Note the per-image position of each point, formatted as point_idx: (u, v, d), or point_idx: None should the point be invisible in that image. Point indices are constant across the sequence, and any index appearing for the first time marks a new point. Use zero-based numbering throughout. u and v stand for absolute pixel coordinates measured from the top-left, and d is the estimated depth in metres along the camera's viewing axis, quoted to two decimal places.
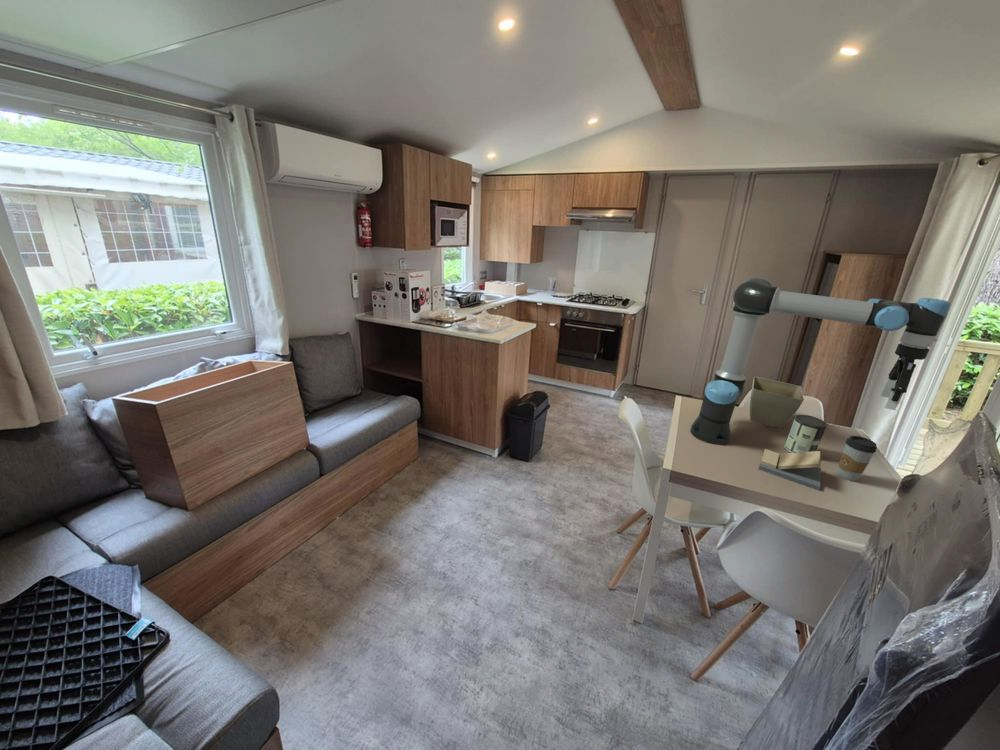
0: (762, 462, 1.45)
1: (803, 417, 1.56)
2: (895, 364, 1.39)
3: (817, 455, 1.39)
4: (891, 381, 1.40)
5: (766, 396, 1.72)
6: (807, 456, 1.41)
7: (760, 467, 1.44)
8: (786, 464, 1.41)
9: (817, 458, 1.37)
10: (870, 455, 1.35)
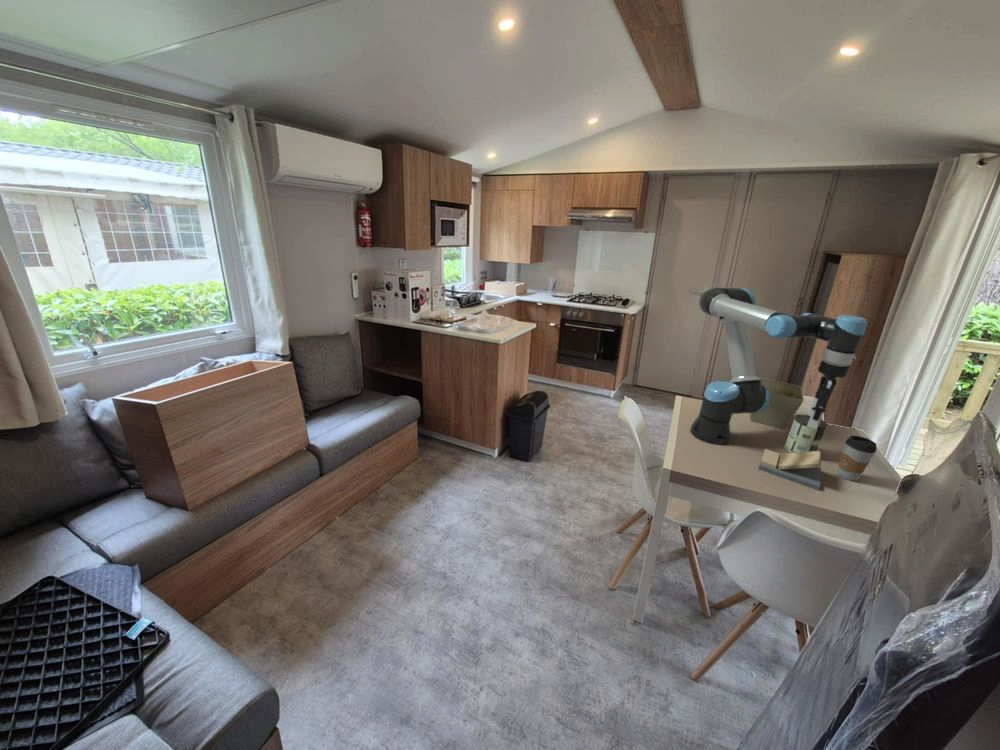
0: (762, 462, 1.45)
1: (803, 417, 1.56)
2: None
3: (817, 455, 1.39)
4: (817, 400, 1.38)
5: None
6: (807, 456, 1.41)
7: (760, 467, 1.44)
8: (786, 464, 1.41)
9: (817, 458, 1.37)
10: (870, 455, 1.35)
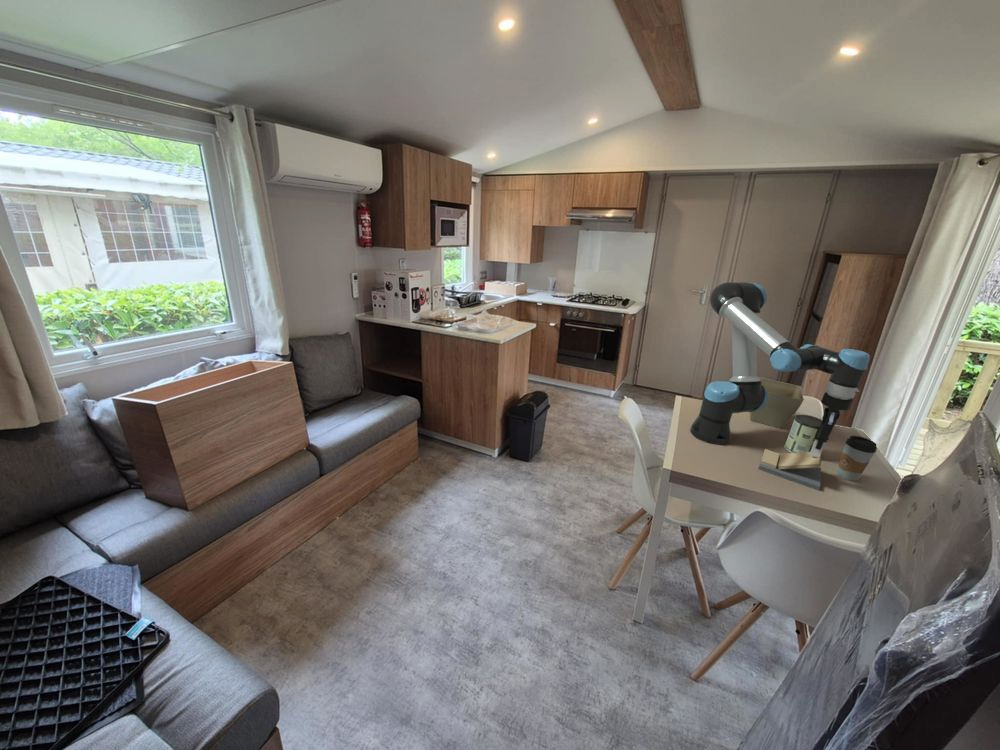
0: (762, 462, 1.45)
1: (803, 417, 1.56)
2: None
3: None
4: None
5: None
6: (807, 456, 1.41)
7: (760, 467, 1.44)
8: (786, 464, 1.41)
9: (817, 458, 1.37)
10: (870, 455, 1.35)
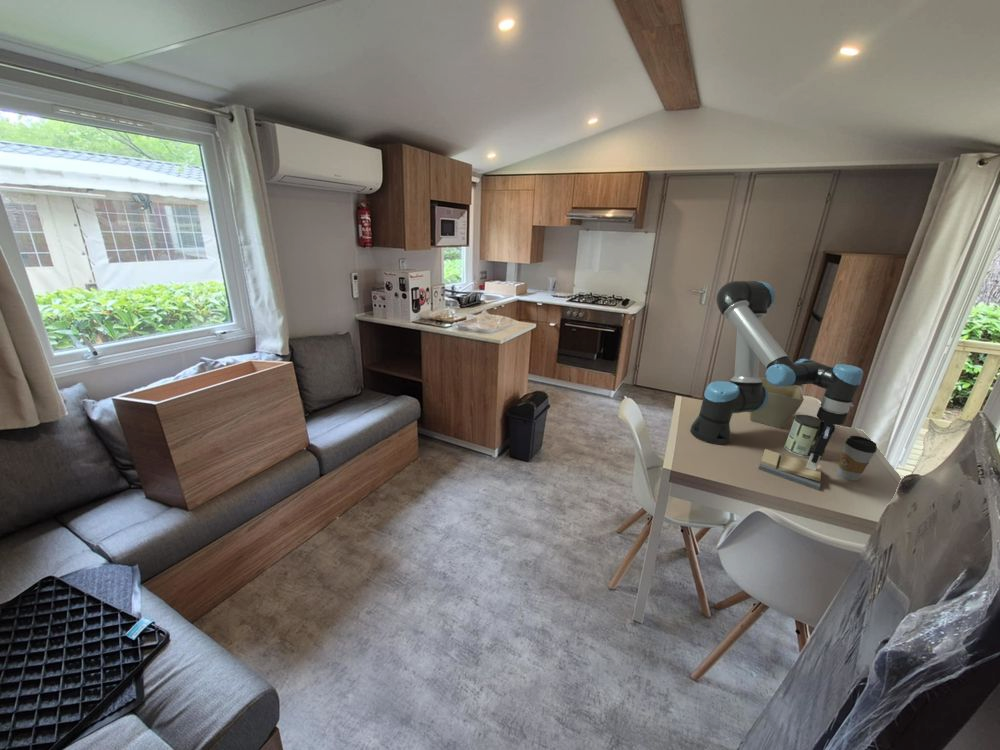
0: (762, 462, 1.45)
1: (803, 417, 1.56)
2: None
3: (818, 469, 1.40)
4: None
5: None
6: None
7: (760, 467, 1.44)
8: (787, 467, 1.41)
9: (818, 472, 1.38)
10: (870, 455, 1.35)
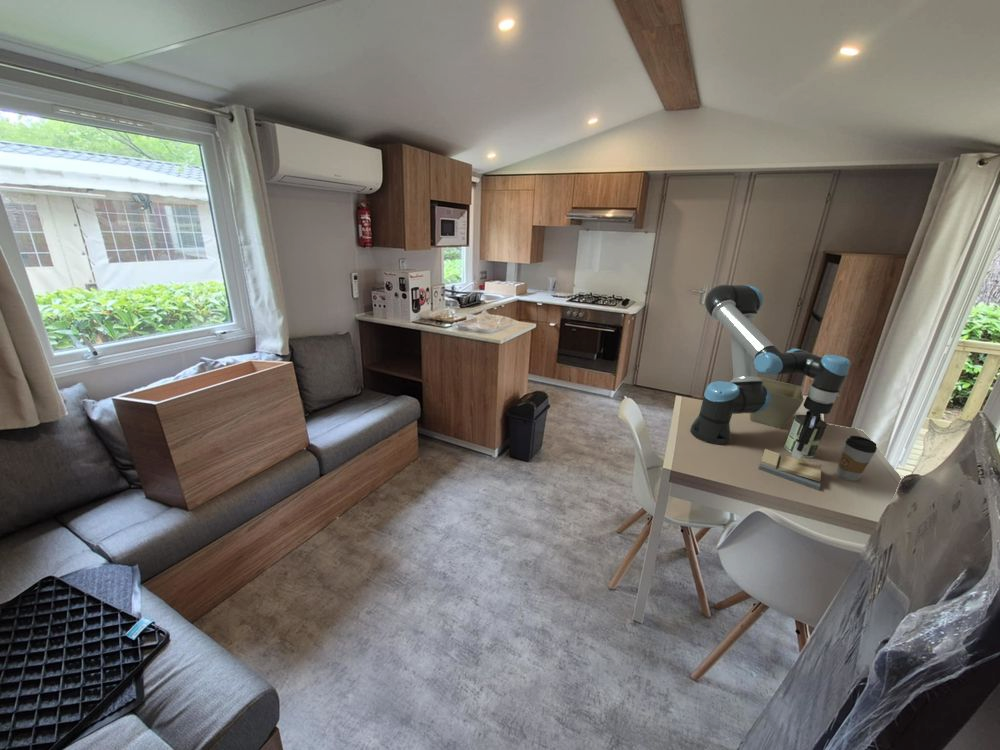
0: (762, 462, 1.45)
1: (803, 417, 1.56)
2: None
3: (818, 469, 1.40)
4: None
5: None
6: (808, 466, 1.42)
7: (760, 467, 1.44)
8: (787, 467, 1.41)
9: (818, 472, 1.38)
10: (870, 455, 1.35)
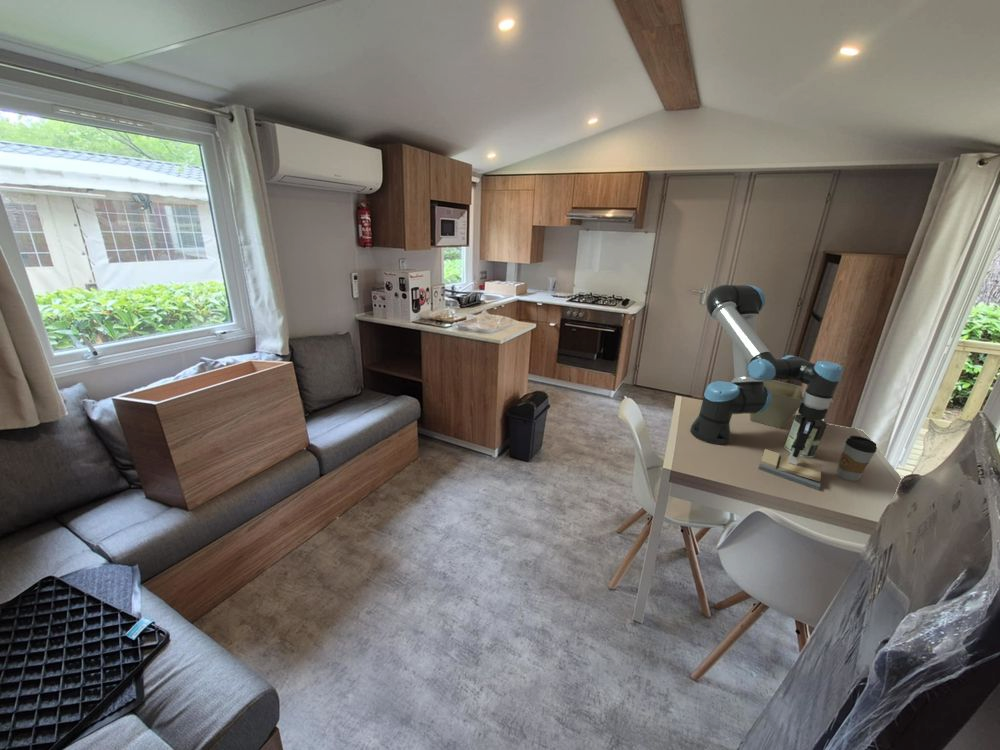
0: (762, 462, 1.45)
1: None
2: None
3: (818, 469, 1.40)
4: None
5: None
6: (808, 466, 1.42)
7: (760, 467, 1.44)
8: (787, 467, 1.41)
9: (818, 472, 1.38)
10: (870, 455, 1.35)
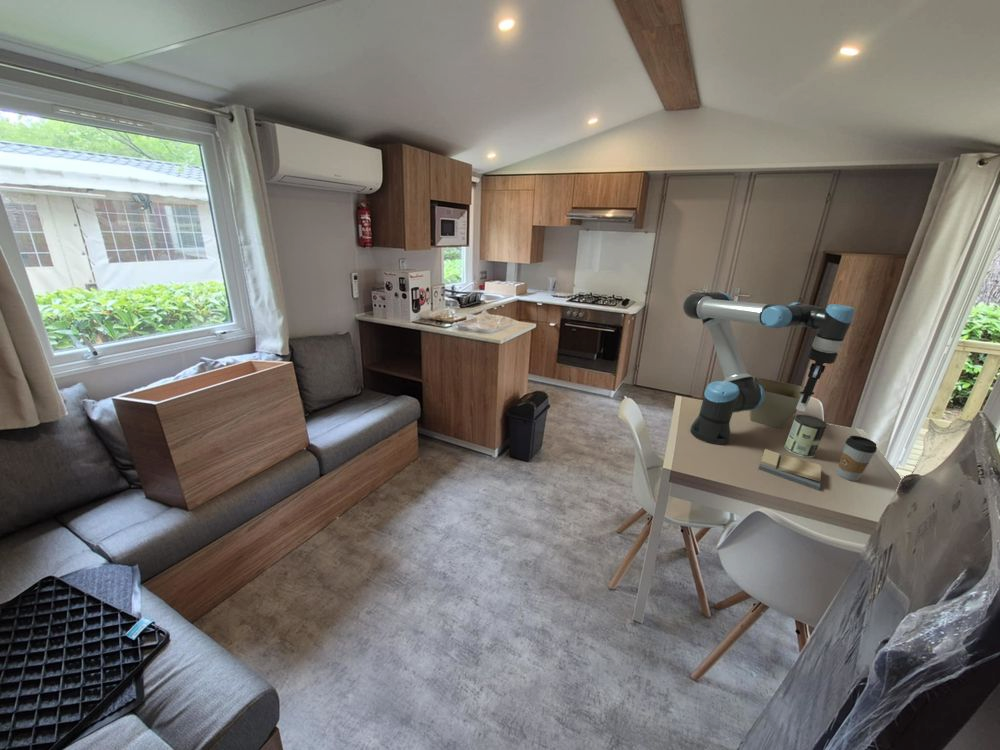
0: (762, 462, 1.45)
1: (803, 417, 1.56)
2: None
3: (818, 469, 1.40)
4: None
5: (766, 396, 1.72)
6: (808, 466, 1.42)
7: (760, 467, 1.44)
8: (787, 467, 1.41)
9: (818, 472, 1.38)
10: (870, 455, 1.35)
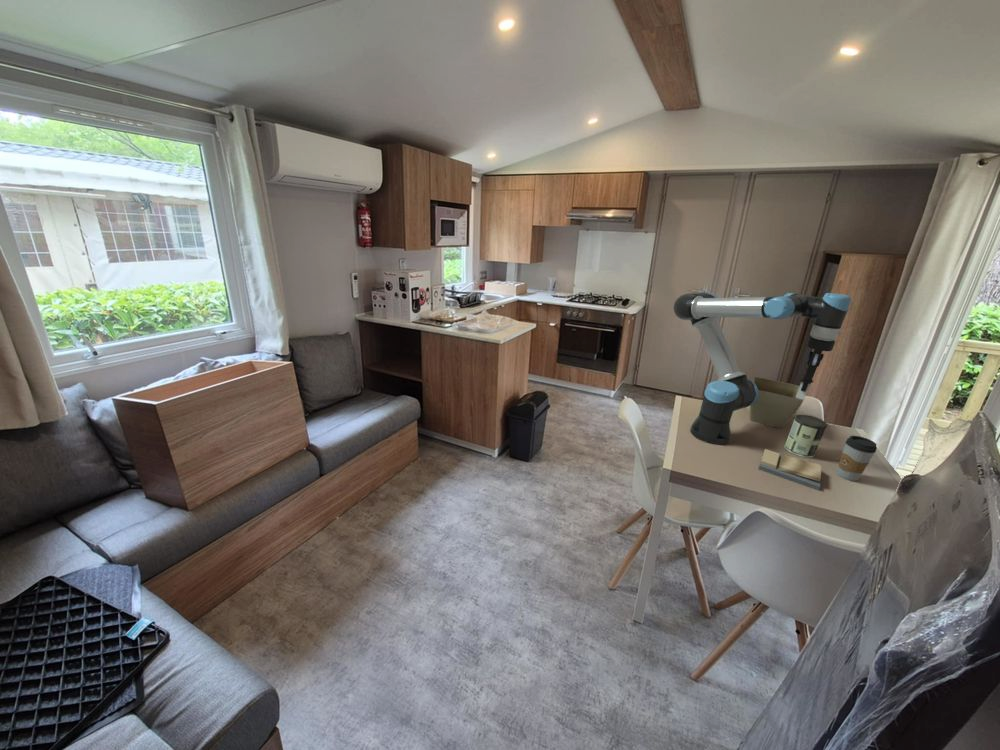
0: (762, 462, 1.45)
1: (803, 417, 1.56)
2: None
3: (818, 469, 1.40)
4: None
5: (766, 396, 1.72)
6: (808, 466, 1.42)
7: (760, 467, 1.44)
8: (787, 467, 1.41)
9: (818, 472, 1.38)
10: (870, 455, 1.35)
